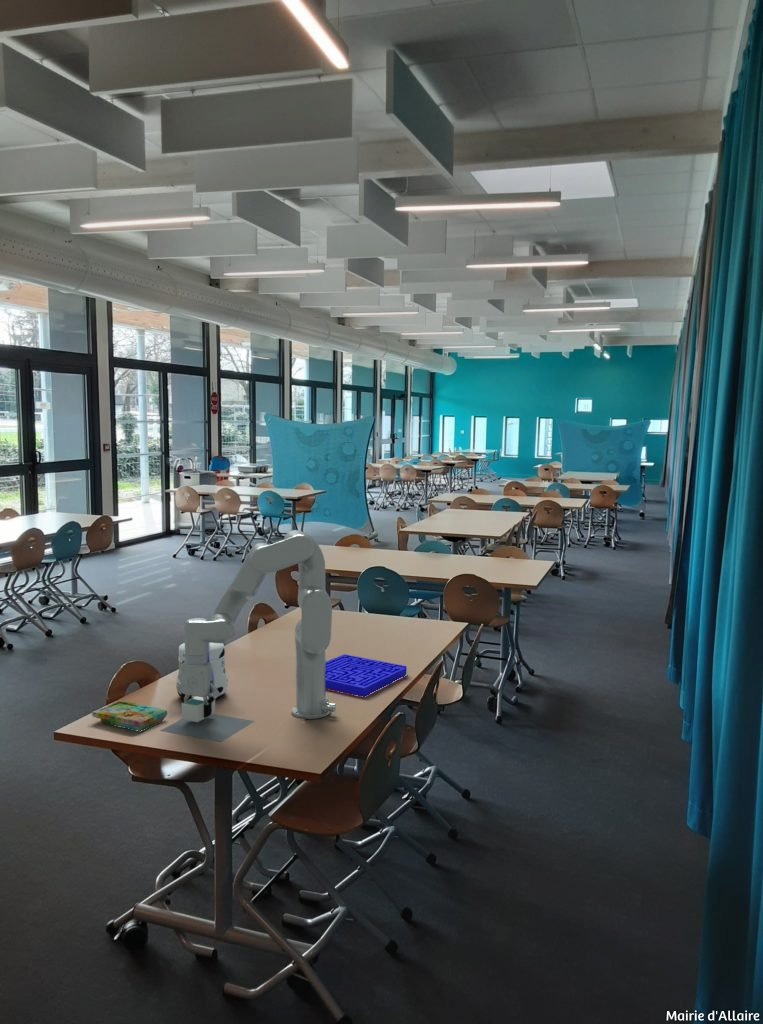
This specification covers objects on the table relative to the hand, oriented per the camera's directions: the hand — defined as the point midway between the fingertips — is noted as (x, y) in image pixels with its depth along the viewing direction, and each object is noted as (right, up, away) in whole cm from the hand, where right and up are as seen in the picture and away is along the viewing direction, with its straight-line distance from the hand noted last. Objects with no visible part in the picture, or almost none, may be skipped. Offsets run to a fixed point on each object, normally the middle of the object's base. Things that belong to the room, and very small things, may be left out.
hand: (198, 714), depth 235 cm
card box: (0, -1, 0) cm, 1 cm away
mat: (+4, -3, -4) cm, 6 cm away
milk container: (-5, -1, +25) cm, 25 cm away
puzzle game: (-22, -3, +1) cm, 22 cm away
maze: (+47, 0, +44) cm, 64 cm away
